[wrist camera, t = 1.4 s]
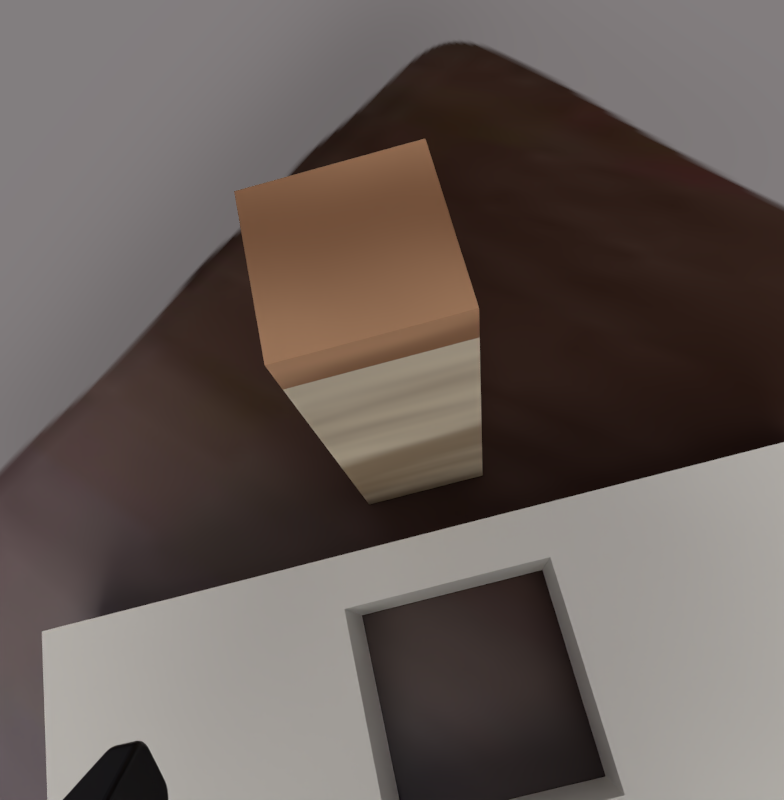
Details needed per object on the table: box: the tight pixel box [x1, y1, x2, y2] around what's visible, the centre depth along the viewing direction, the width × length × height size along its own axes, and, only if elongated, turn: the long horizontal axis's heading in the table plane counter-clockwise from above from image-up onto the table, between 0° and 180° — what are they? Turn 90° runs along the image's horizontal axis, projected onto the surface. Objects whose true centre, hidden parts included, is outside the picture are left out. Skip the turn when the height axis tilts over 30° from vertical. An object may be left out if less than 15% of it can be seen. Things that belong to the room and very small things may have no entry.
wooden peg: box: [234, 139, 483, 505], centre depth 19 cm, size 4×4×12 cm
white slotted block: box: [42, 442, 784, 800], centre depth 20 cm, size 9×24×3 cm, turn 103°
